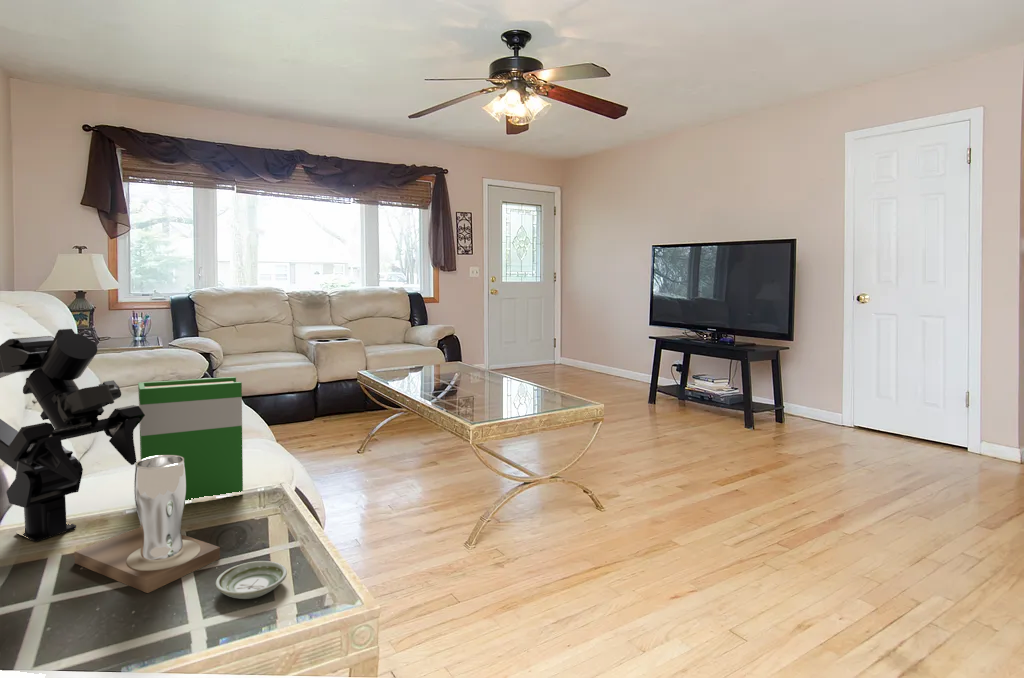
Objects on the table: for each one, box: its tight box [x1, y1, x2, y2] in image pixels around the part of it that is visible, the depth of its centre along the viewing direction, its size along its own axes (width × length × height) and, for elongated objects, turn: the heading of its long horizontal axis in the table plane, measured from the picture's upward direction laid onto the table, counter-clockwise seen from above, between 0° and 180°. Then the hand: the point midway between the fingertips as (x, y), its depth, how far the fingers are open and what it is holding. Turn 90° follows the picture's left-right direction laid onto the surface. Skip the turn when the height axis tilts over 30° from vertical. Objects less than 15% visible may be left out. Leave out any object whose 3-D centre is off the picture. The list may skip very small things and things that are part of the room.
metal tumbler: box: [133, 455, 186, 563], centre depth 92 cm, size 7×7×15 cm
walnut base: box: [74, 526, 221, 594], centre depth 94 cm, size 18×12×2 cm, turn 65°
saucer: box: [215, 560, 288, 600], centre depth 87 cm, size 10×10×2 cm
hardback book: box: [137, 376, 244, 500], centre depth 120 cm, size 18×7×24 cm, turn 124°
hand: (107, 471), depth 96 cm, fingers open, 9 cm apart
